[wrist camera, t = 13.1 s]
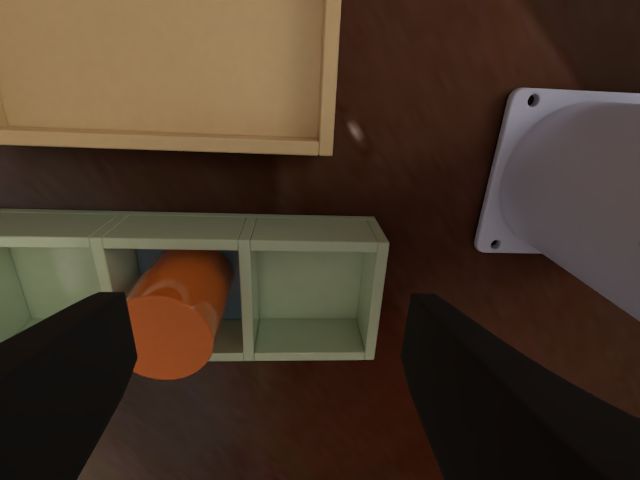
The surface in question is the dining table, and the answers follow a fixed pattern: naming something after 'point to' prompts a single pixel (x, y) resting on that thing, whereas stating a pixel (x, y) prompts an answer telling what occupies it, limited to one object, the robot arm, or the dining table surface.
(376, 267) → the green compartment tray
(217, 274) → the orange cylinder
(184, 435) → the dining table surface
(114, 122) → the birch tray
